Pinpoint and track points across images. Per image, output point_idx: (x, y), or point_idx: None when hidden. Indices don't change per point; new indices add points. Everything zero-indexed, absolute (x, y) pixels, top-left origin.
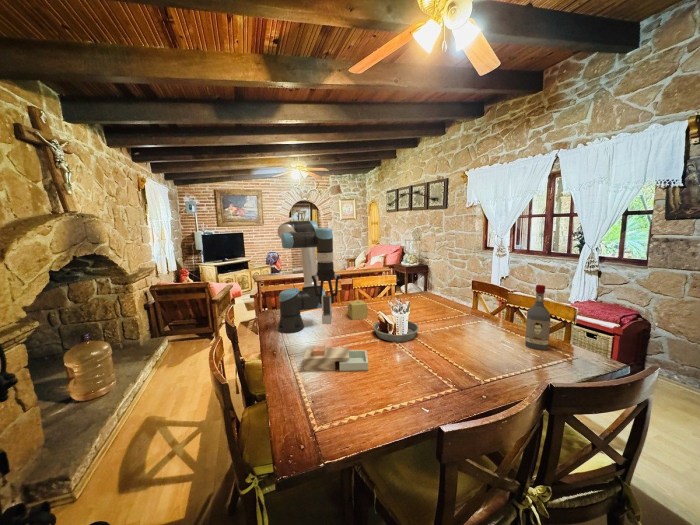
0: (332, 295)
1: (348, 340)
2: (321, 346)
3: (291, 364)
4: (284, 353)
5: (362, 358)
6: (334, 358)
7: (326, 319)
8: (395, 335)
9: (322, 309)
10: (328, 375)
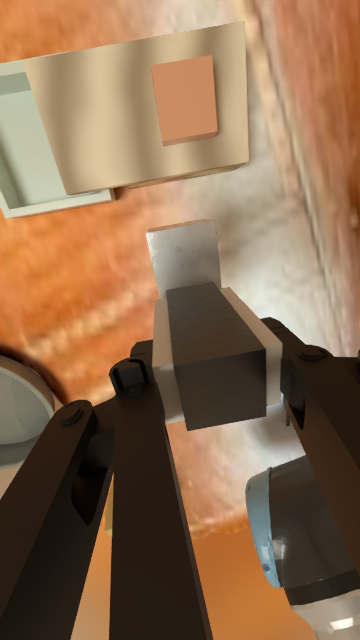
0: (129, 394)
1: (126, 338)
2: (179, 132)
3: (285, 121)
4: (321, 215)
5: (29, 198)
6: (94, 49)
7: (177, 225)
8: None
9: (229, 292)
10: (119, 23)
